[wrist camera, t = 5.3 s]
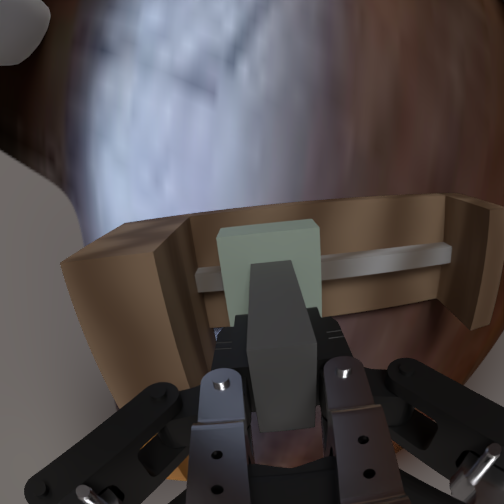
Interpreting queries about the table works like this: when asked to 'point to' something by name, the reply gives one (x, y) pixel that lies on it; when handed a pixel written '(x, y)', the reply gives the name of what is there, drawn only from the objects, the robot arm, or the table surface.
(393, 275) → the brown mechanism housing
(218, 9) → the table surface
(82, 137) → the table surface
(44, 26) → the foam cup
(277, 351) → the sliding handle
